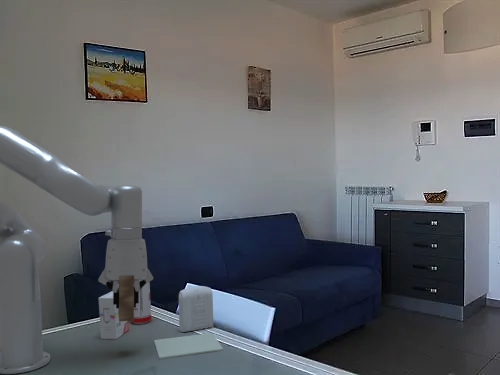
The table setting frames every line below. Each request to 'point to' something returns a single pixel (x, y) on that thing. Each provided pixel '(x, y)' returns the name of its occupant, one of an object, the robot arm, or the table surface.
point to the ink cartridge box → (110, 318)
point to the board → (187, 345)
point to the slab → (126, 298)
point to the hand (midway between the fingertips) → (125, 306)
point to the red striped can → (143, 306)
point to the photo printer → (195, 308)
